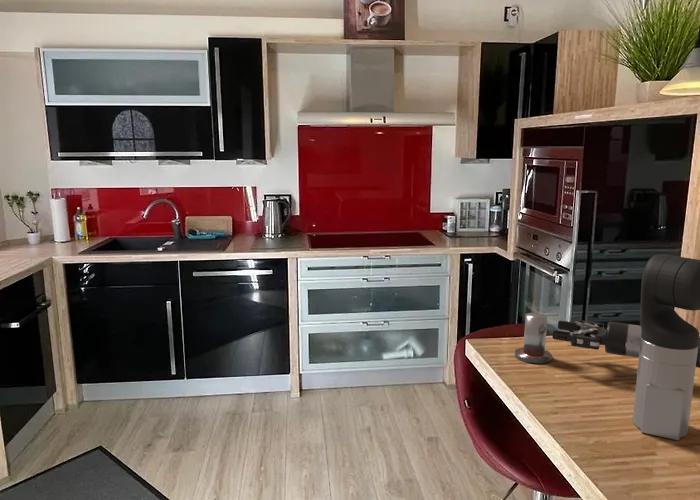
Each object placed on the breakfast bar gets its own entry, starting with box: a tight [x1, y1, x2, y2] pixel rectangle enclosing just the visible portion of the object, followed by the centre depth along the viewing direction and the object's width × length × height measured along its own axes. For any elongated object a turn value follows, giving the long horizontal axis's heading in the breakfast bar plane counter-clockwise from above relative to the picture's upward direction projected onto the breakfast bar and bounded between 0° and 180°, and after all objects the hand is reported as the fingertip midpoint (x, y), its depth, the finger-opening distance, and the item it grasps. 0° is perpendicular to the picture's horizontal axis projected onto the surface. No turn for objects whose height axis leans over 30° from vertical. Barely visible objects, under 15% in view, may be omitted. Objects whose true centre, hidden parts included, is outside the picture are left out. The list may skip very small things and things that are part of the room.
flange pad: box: [514, 346, 553, 365], centre depth 135 cm, size 9×9×1 cm
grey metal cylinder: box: [522, 312, 548, 357], centre depth 134 cm, size 5×5×10 cm
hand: (555, 329), depth 131 cm, fingers open, 8 cm apart
